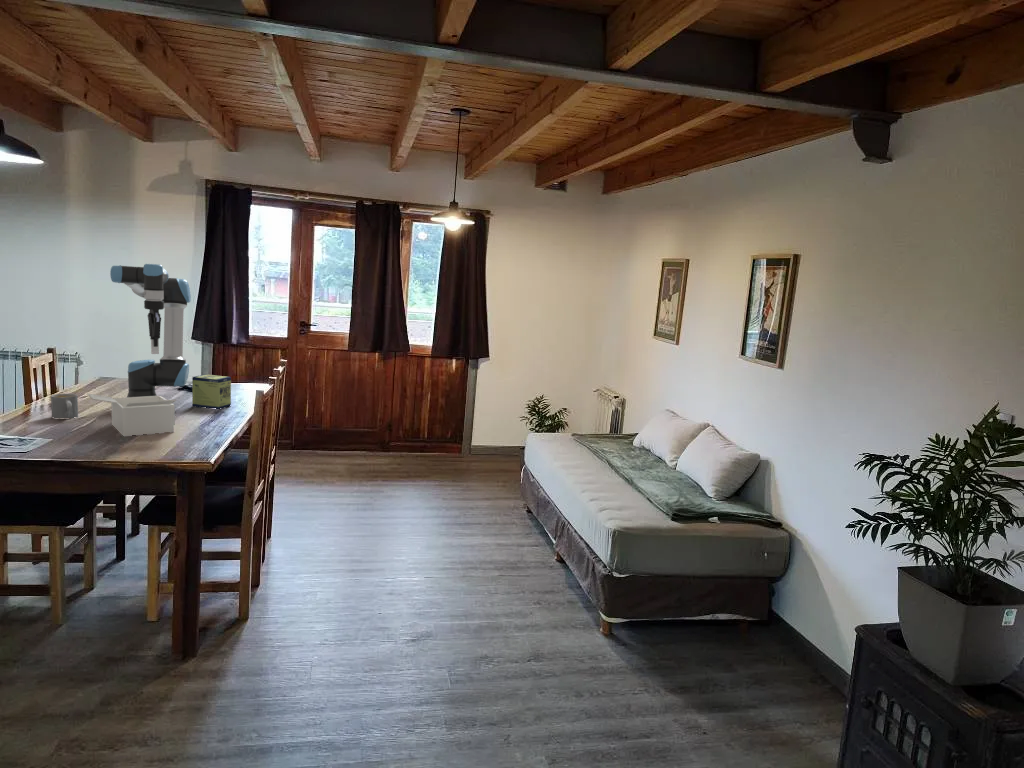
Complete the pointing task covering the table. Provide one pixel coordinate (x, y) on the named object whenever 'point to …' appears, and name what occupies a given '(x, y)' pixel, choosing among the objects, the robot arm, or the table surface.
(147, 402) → the front flap
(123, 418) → the carton
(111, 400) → the side flap
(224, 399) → the protein box
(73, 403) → the coffee mug
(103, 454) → the table surface
